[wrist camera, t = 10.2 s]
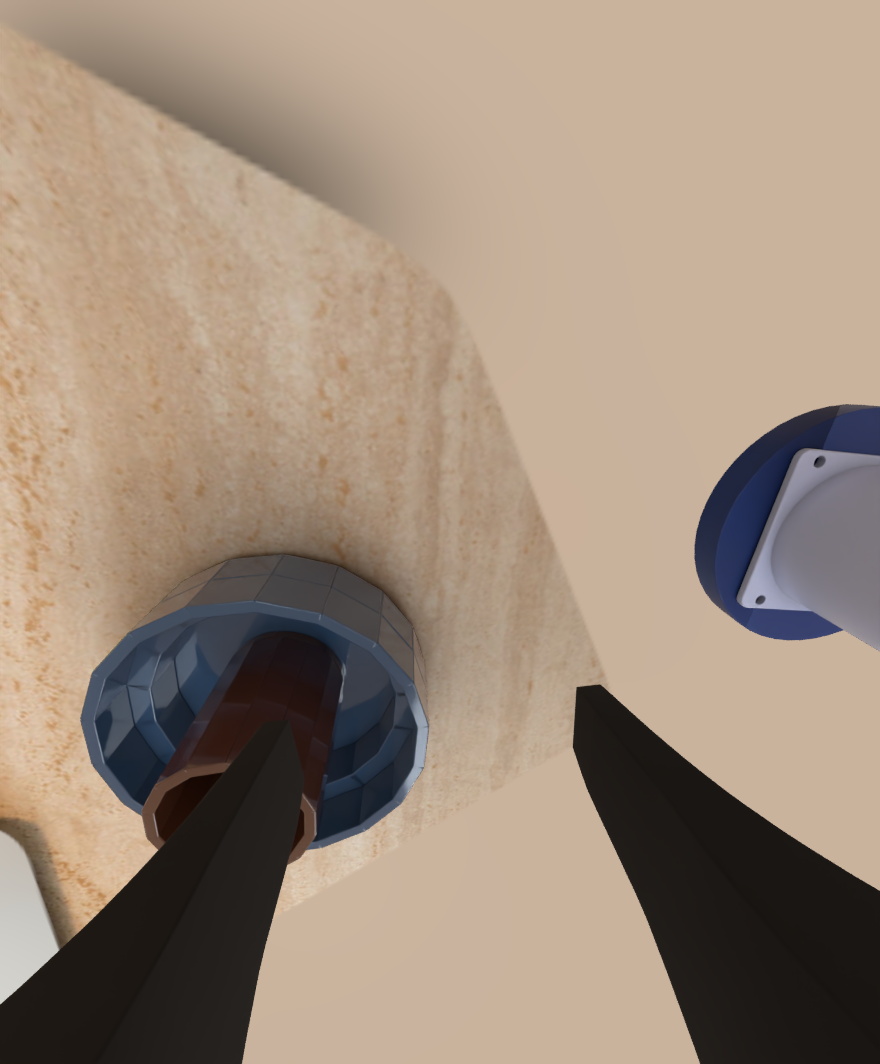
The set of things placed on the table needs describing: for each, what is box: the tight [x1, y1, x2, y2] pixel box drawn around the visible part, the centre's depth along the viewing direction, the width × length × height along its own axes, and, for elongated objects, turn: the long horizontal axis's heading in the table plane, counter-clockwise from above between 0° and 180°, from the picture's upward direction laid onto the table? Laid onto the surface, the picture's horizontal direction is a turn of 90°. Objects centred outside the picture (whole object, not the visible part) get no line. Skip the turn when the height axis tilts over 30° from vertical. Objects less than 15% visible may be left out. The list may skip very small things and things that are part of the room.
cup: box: [141, 631, 344, 865], centre depth 17 cm, size 5×6×7 cm
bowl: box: [80, 554, 429, 850], centre depth 19 cm, size 13×13×4 cm
